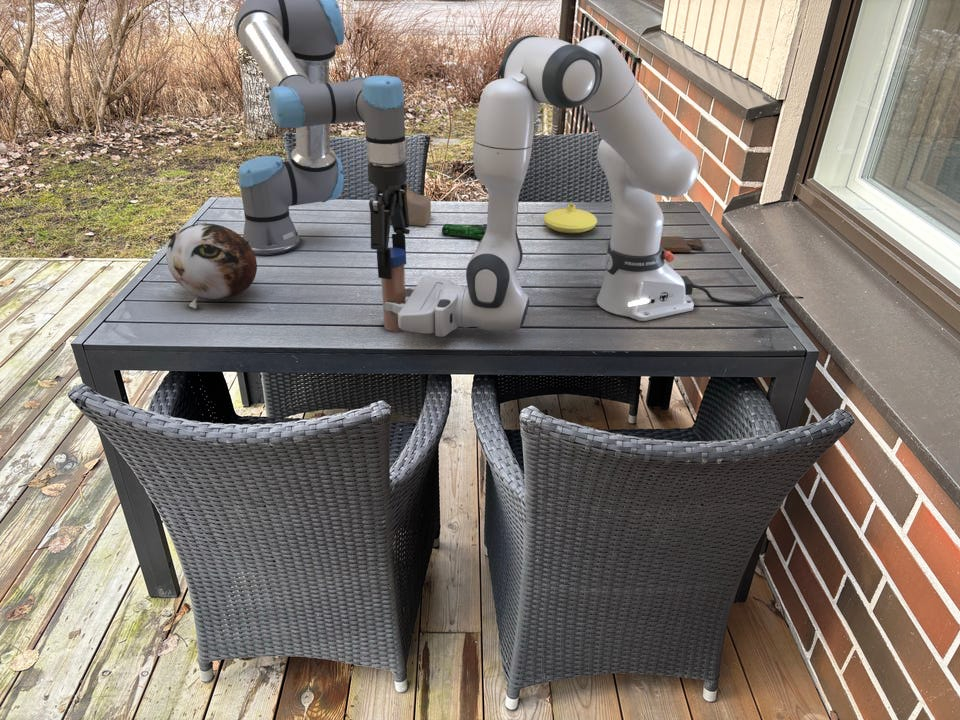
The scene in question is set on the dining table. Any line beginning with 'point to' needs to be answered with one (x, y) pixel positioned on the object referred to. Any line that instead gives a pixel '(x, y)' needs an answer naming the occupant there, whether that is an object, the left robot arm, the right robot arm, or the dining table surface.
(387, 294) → the jar
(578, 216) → the yellow knobbed disc
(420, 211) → the decorative block
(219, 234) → the brown and white balloon
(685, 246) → the wooden paddle board
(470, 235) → the handgun
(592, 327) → the dining table surface
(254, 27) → the left robot arm
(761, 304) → the dining table surface
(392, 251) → the lid
